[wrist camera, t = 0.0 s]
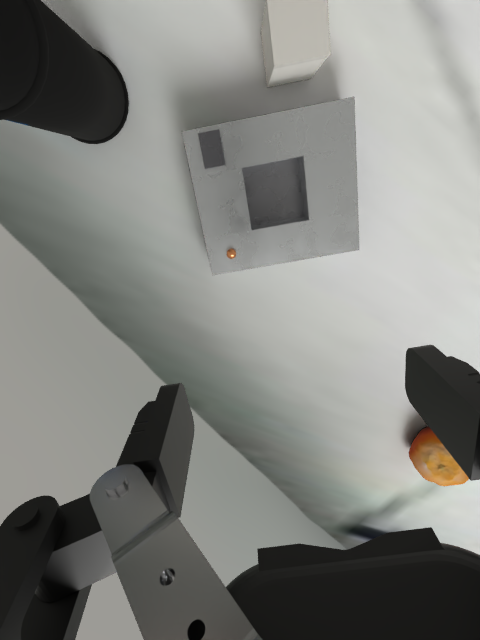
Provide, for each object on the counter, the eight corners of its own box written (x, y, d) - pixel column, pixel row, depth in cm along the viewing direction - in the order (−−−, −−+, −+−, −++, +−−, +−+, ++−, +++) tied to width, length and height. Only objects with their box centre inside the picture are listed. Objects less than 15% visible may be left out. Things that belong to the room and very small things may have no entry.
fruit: (456, 470, 52) (460, 506, 45) (404, 443, 55) (400, 473, 48) (483, 431, 49) (491, 463, 42) (426, 404, 52) (425, 431, 45)
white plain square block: (259, 32, 31) (266, -7, 25) (307, 21, 31) (326, -21, 24) (266, 88, 33) (274, 65, 26) (311, 78, 33) (330, 54, 26)
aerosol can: (107, 33, 31) (-79, -176, 13) (142, 129, 34) (33, 73, 16) (29, 63, 32) (-252, -92, 14) (70, 154, 35) (-113, 129, 17)
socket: (187, 136, 34) (180, 130, 30) (341, 105, 34) (356, 95, 29) (214, 266, 40) (211, 276, 36) (347, 243, 39) (361, 250, 35)
